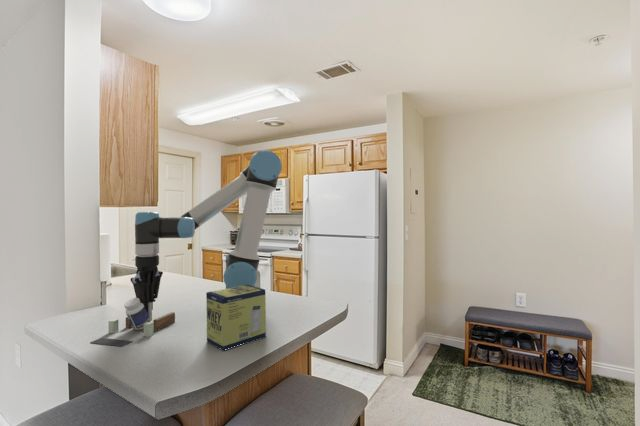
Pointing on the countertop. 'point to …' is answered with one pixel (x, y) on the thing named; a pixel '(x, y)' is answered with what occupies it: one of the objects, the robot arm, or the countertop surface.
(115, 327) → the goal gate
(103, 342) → the mat
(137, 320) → the pill bottle
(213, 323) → the protein box
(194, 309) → the countertop surface
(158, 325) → the lane
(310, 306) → the countertop surface
